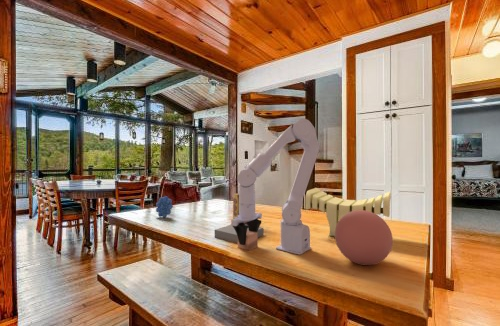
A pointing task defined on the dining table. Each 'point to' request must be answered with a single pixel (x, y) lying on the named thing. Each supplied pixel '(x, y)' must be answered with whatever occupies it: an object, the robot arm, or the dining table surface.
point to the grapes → (164, 206)
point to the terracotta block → (249, 241)
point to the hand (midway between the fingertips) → (247, 242)
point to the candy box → (236, 206)
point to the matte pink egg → (363, 237)
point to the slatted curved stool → (344, 206)
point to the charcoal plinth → (232, 233)
